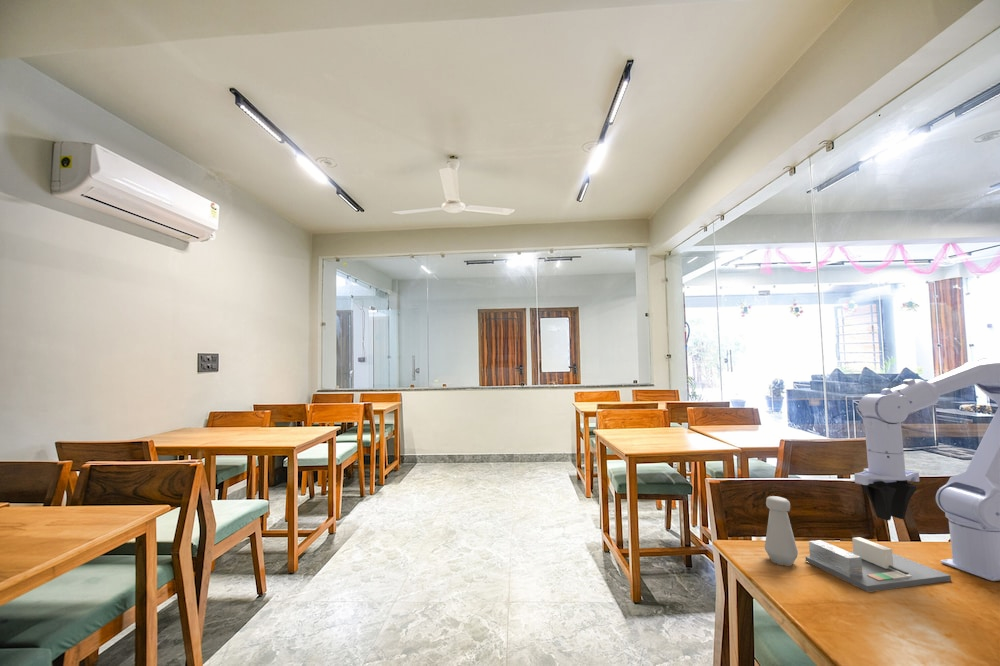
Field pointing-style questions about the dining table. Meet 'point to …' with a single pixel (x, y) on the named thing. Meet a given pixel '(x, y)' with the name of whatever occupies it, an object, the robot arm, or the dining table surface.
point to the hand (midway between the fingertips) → (890, 518)
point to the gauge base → (890, 574)
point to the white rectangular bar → (874, 553)
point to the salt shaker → (780, 532)
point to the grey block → (836, 558)
